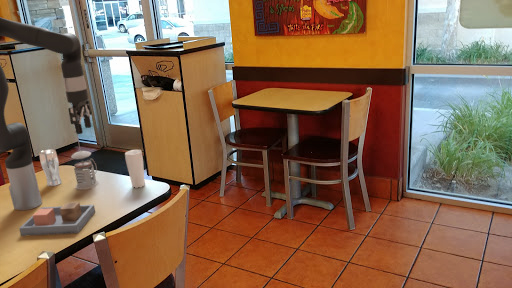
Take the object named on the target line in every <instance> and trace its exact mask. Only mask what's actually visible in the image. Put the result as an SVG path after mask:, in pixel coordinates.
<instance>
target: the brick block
mask: <svg viewBox="0 0 512 288" xmlns="http://www.w3.org/2000/svg"><path fill="white" fill-rule="evenodd" d="M32 216H33V219H34V223H35V226H45V225H53V224H54V223H55V222H56V218H55V213H54V209H53V208H49V209H40V208H39V209H38V210H36V212H35V213H33V214H32Z"/></svg>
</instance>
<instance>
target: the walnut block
mask: <svg viewBox="0 0 512 288" xmlns="http://www.w3.org/2000/svg"><path fill="white" fill-rule="evenodd" d="M80 205H81V203H80V202H79V201H77V202H65V203H64V204H63V205H61V206H62V207H61V209H60V212H61V216H62V221H63V222H70V221H77V220H78V219H79V218H80V216H81V215H82V212H81V208H80Z"/></svg>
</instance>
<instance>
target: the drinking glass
mask: <svg viewBox="0 0 512 288" xmlns="http://www.w3.org/2000/svg"><path fill="white" fill-rule="evenodd" d="M124 157H125V158H124V159H125V162H126V167H127V171H128V174H129V178H130V183H131V186H132V187H133V188H134V187H135V188H134V189H139V188H138V187H140V188H143V187H144V186H145V185H146V182H145V169H144V159H143V153H142V150H141V149H131V150H128V151H126V152H125V153H124ZM142 186H143V187H142Z"/></svg>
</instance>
